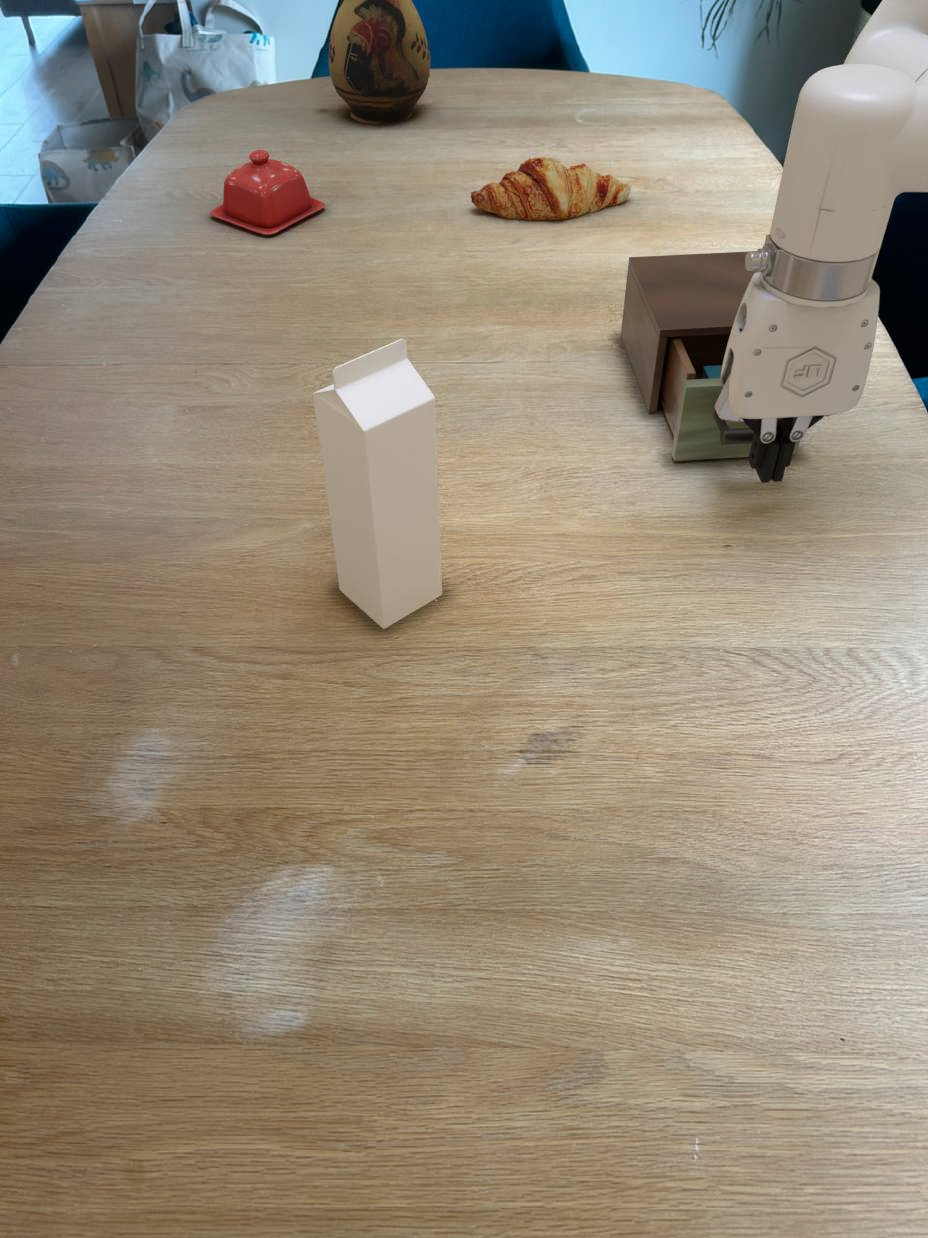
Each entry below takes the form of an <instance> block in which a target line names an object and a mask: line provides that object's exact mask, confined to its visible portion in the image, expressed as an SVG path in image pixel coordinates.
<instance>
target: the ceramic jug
mask: <svg viewBox="0 0 928 1238" xmlns="http://www.w3.org/2000/svg"><path fill="white" fill-rule="evenodd" d="M339 3H340V4H339V8H338V10H337V12H336V16H335V18H334V21H333V24H332V28H331V31H330V37H329V41H328V42H329V43H328V70H329V75H330V79H331V83H332V86H333V88H334V90H335V92H336V93H337V94H338V96H339V97H340V98H341V99H342V100H343V102H345V103H346V105H348V106H349V108H350V109H351V110H350V118H352V119H353V120H355V121H357V122H359V123H361V124H367V125H374V126H382V125H383V126H384V125H393V124H397V123H400V122H404V121H406V120H408V119H410V118H411V116H412V114H413V113H412V112H413V109H414V108H415V106H416V105H417V103H418V102H419V100H420V98H421V97H422V96H423V94H424V92H425V91H426V89H427V86H428V83H429V79H430V74H431V54H430V53H431V52H430V48H429V43H428V39H427V35H426V30H425V28H424V25H423V21H422V19H421V16H420V15H419V12H418V10H417V8H416V6H415V4H414V2H413V1H412V0H340V2H339Z"/></svg>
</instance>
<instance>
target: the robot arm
mask: <svg viewBox="0 0 928 1238" xmlns="http://www.w3.org/2000/svg"><path fill="white" fill-rule="evenodd" d="M843 62H844V63H843V64H838V65H832V66H829V67H825V68H822V69H820V70H818V71H817V72H815V73H813V74H812V75H811V76H809V78H808V79H807V80H806V81H805V82H804V84H803V86H802V88H801V89H800V92H799V93H798V99H797V102H796V106H795V110H794V116H793V120H792V125H791V129H790V134H789V139H788V144H787V148H786V153H785V158H784V163H783V167H782V172H781V176H780V181H779V185H778V186H779V187H778V191H777V196H776V201H775V205H774V210H773V216H772V220H771V225H770V230H769V234H766V235H765V240H764V243H763V246H762V247H761V248H758V249H757V250H748V252H747V251H746V252H747V254H746V258H745V267H746V270H747V271H757V273H754V275H753V277H752V279H751V281H750V283H749V285H748V287H747V289H746V292H745V294H744V296H743V299H742V301H741V304H740V306H739V309H738V312H737V314H736V317H735V321H734V324H733V327H732V330H731V333H730V337H729V340H728V344H727V348H726V352H725V356H724V360H723V365H722V370H721V377H720V383H721V386H722V387H723V389H722V391H721V393H720V395H719V397H718V400H717V402H716V404H715V410H716V412H717V414H718V416H719V418H720V419H723V420H729V421H736V422H739V421H741V422H745V424H746V425H747V426H748V427H749V428H750V429H751V430H752V431H753V432H754V436H753V441H752V445H751V449H750V453H749V457H748V462H749V463H748V464H749V466H750V468H751V469H752V470H755V472H756V474H757V476H758V478H759V481H760V482H761V484H767V483H770V482H771V481H773V483H781V482H782V481H783V478H784V474H785V471H786V468H788V467H790V466H791V463H792V458H793V455H794V454H793V451H794V447H795V443H796V442H797V441H800V442H801V440H803V439H804V437H805V435H806V433H807V431H808V430H809V429H810V428H812V427H813V426H814V425H815V424H817V423H818V422H819V421H821V420H822V419H823V418H824V417H832V416H835V415H838V414H842V413H846V412H849V411H851V410H853V409H854V408H856V407H857V405H858V404H859V402H860V400H861V398H862V396H863V393H864V389H865V387H866V383H867V378H868V375H869V370H870V366H871V362H872V357H873V352H874V347H875V341H876V334H877V329H878V328H877V326H878V318H879V311H880V298H881V297H880V294H881V289H880V286H879V284H878V283H877V282H876V281H875V280H874V279H873V274H874V272H875V271H874V270H875V267H876V265H877V262H878V261H877V260H878V257H879V255H880V250H881V248H882V244H883V240H884V236H885V233H886V229H887V226H888V224H889V220H890V216H891V213H892V209H893V205H894V202H895V200H896V198H897V196H899V195H900V194H902V193H928V0H881V1H880V3H879V5H878V6H877V8H876V9H875V10H874V12H873V13H872V15H871V16H870V18H869V19H868V21H867V22H866V23H865V25H864V27H863V28H862V29H861V32H860V33H859V35H858V37H857V38H856V40H855V42H854V43H853V45H852V47H851V49H850V50H849V53H848V54H847V56H846V58H845V59H844V61H843ZM777 418H780V420H779V421H777Z"/></svg>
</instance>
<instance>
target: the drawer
mask: <svg viewBox="0 0 928 1238" xmlns="http://www.w3.org/2000/svg"><path fill="white" fill-rule="evenodd" d="M729 337H730V334H718V335H699V336H680V337H667V344H666V351H665V358H664V365H663V371H662V378H661V385H660V392H659V400H660V402H661V405H662V407H663V410H664V412H665V413H664V415H665V417H666V420H667V423H668V425H669V428H670V430H671V433H672V435H673V441H672V445H671V446H672V447H671V452H670V453H671V457H672V459H673V462H681V461H682V462H683V461H684V462H685V461H700V460H717V459H719V460H720V459H734V458H749V453H750V449H751V445H752V441H753V436H754V432H753V431H752V430H751V429H750V428H749V427H748V426H747V425H746V424H745V422H741V421H739V422H736V421H729V420H723V419H720V418H719V416H718V414H717V412H716V410H715V404H716V402H717V400H718V397H719V395H720V393H721V391H722V389H723V387H722V386H721V383H720V378H711V379H701V377H702V372H703V367H704V366H719V365H723V360H724V356H725V352H726V348H727V344H728V340H729ZM779 420H780V418H777V421H779ZM800 442H801V440H800V441H797V442H796V443H795V447H794V451H793V454H792V455H797V453H798V449H799V446H800Z"/></svg>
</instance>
